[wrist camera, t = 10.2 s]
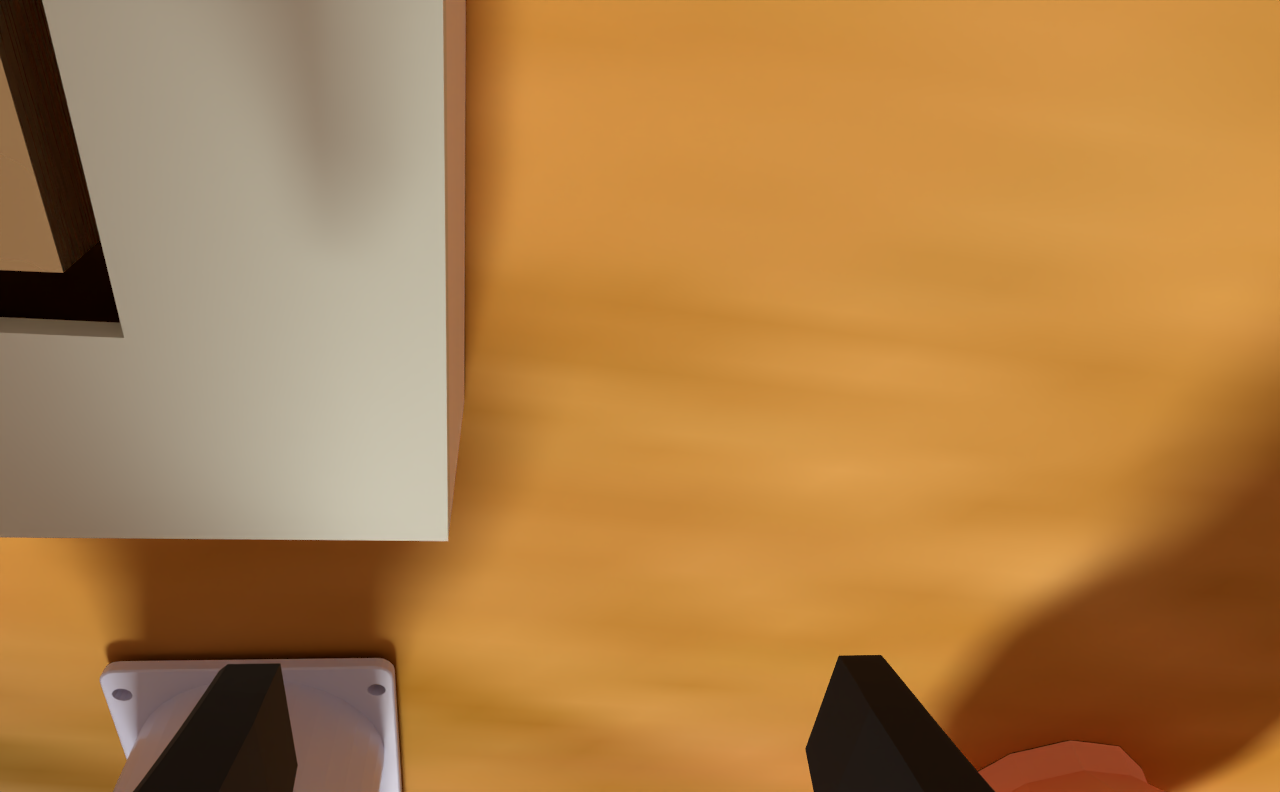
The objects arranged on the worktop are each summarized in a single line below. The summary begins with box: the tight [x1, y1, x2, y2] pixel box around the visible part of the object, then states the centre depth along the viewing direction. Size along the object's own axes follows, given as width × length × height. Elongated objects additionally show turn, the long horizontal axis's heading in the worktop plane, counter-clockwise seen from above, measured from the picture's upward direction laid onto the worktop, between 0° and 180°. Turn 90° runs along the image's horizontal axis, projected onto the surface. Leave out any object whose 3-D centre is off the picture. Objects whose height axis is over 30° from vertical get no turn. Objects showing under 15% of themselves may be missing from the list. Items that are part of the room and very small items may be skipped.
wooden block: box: [0, 0, 100, 273], centre depth 13 cm, size 5×2×5 cm, turn 174°
